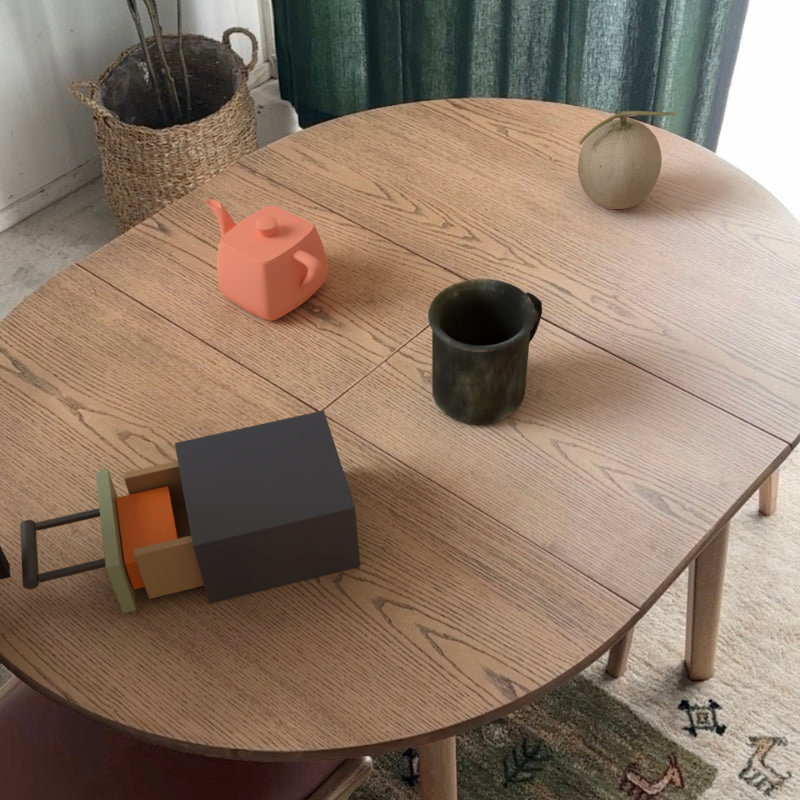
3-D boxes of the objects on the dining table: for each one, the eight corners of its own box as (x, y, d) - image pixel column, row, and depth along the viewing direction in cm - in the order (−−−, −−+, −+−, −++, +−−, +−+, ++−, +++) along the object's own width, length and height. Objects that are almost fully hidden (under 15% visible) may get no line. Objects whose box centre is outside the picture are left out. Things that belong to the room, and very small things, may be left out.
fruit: (556, 187, 144) (566, 87, 133) (634, 173, 146) (650, 73, 135) (585, 232, 137) (598, 130, 126) (667, 216, 139) (687, 115, 128)
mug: (407, 394, 117) (405, 312, 109) (498, 332, 124) (503, 250, 115) (478, 447, 112) (482, 365, 103) (569, 378, 118) (579, 296, 110)
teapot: (293, 343, 124) (283, 274, 116) (186, 284, 132) (171, 215, 124) (356, 292, 130) (351, 223, 122) (251, 238, 138) (240, 170, 130)
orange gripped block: (133, 589, 98) (124, 564, 95) (124, 523, 103) (115, 497, 100) (187, 576, 99) (180, 550, 96) (175, 511, 104) (168, 485, 101)
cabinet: (209, 604, 99) (193, 545, 92) (190, 502, 107) (174, 442, 101) (360, 566, 101) (355, 507, 95) (330, 470, 110) (323, 410, 103)
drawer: (37, 634, 96) (14, 589, 91) (32, 537, 104) (11, 490, 98) (267, 578, 100) (258, 531, 94) (246, 488, 107) (236, 440, 102)
